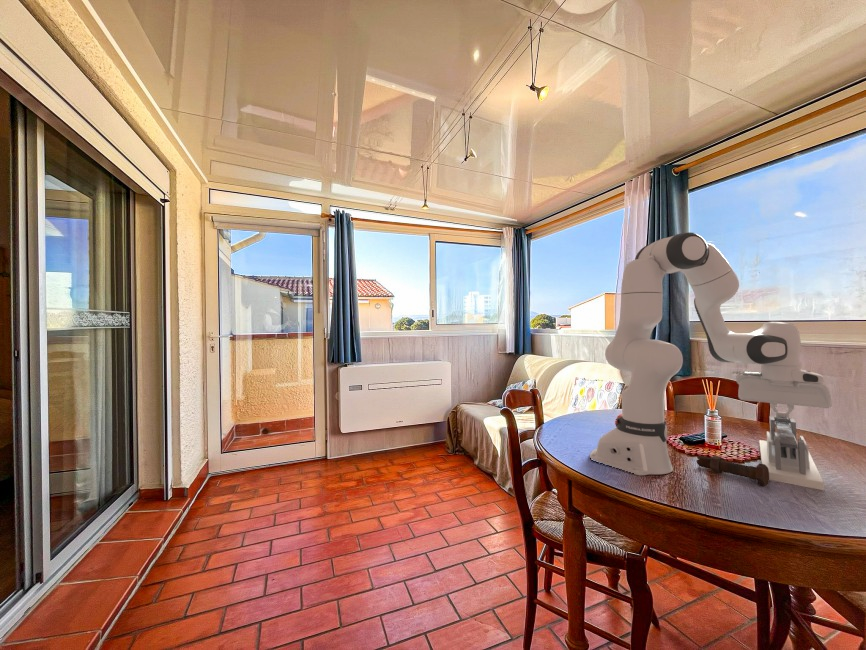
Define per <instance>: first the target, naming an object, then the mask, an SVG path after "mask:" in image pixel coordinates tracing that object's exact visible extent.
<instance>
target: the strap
mask: <svg viewBox="0 0 866 650" xmlns="http://www.w3.org/2000/svg"><path fill="white" fill-rule="evenodd" d="M775 429H776V432H777V431H778V435H779V438H780V442H781V446H782V447H788V448H795V449H798V448H797V443H798V442H797V443H796V440H795V438H794V435H793V433H792V430H791V428H790V423H784V422H775Z"/></svg>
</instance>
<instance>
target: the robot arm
mask: <svg viewBox="0 0 866 650" xmlns="http://www.w3.org/2000/svg"><path fill="white" fill-rule="evenodd" d="M678 272H680V273H682V274H683V275H684V276H685V278H686V280H687V282H688V285H689V286H690V287H691V289H692V291H693V295H694V299H693V306H694V309H695V312H696V314H697V316H698V319H699V322H700V324H701V326H702V329H703V331H704V333H705V337H706V339H707V344H708V345H707V347H708V350H709V352H710V355H711V356H712V357H713V358H714V359H715V360H717V361H719V362H721V363H739V364H749V365H750V364H751V365H760V369H761V371H760V372H751V371H749V372H748V371H742V372H741V373H738V374H737V375H736V380H735V381H736V384H737V385H738V391H737V392H738V394H737V396H738V399H739V400H741V401H745V402H746V401H747V402H757V403H758V402H759V403H766V404H767V403H768V404H769V406H770V408H771V409H772V410H773V412H774V414H775V415H774V416H775V417H776V418H783V419H789V418H790V414H791V413H792V412H793V411H794V410H795V406H798V407H809V408H811V407H812V408H820V409H829V408H830V407H832V404H833V400H832V396H831V393H830V392H831V391H830V389H829V387H828V386H827V385H826V384H824V382H825V376H823V375H822V374H820V373H817V372H813V371H810V370H805V369H803V368H802V363H801V360H800V355H801V352H802V342H801V341H802V340H801V335H800V331H799V329H798V327H797V325H795V324H794V323H790V322H783V321H767V322H764V323H763V324H762V326H760V327H759V328H757V329H756V330H754V331H750V332H734V331H731V330H730V329H729V328H728V327H727V324H726V322H725V320H724V317H723V314H722V312H721V306H722V305H723V304H724V303H726V302H728V301H729V300H731V299H733V297H734V296H735V295H736V294H737V292H738V291H739V288H740V282H739V278H738V276H737V273H736V272H735V271H734V269H733V268H732V266H731V265H730V263H729V261H728V260H727V258H726V257H725V256H724V254H723V253H722V252H721V251H720V250H719V248H717V247H716V246H715V245H714V244H712V243H709V242H707V240H705V239H704V238H703V237H702V236H701V235H700V234H698V233H695V232H688V231H687V232H681V233H677V234H675V235H672V236H668V237H664V238H661V239H658V240H656V241H654V242H652V243H649V244H645V246H644V247H642V248H641V249H639V251H638V252H636V255H635V258H634V259H633V260H631V261H629V262H628V263H627V264H626V265H625V267H624V270H623V275H622V279H621V280H622V281H621V288H620V289H621V290H620V313H619V314H620V315H619V316H620V317H619V322H618V326H617V329H616V332H615V335H614V337H613V339H612V340H611V342H610V343H609V344H608V345H607V346H606V349H605V353H604V354H605V359H606V361H607V363H608V364H609V365H610V366H612V367H613V368H615V369H616V370H619V371H621V372H625V373H631V375H630V376H631V377H630V381H629V384H628V386H627V387H626V388H625V389H624V390H623V391H622V392H621V409H622V410H621V411H622V413H621V414H619V415H617V416H616V419H615V420H614V425H615V428H613V429H611V430H610V431H608V432H607V433H605V434H603V435H602V436H600V438H599V439H598V442H597V447H596V448H594V449H593V450H592V451H590V453H589V459H590V458H591V459H593V460H595V461H598V462H601V463H604V464H607V465H610V466H612V467H611V468H613V467H616V468H619V469H622V470H625V471H624V472H626V471H628V472H627V473H629V472H631V473H630V474H632V473H634V474H633V475H636V476H647V475H665V474H666V475H667V474H669V473H671V472H673V471H674V467H673V465H672V462H671V459H670V455H669V449H668V445H667V440H668V426H667V421H666V420H665V392H666V390H667V386H668V384H669V381H670V380H671V378H672V377H674V376H675V375H676V374H678V373H679V372H680V370H681V369H682V367H683V364H684V362H683V361H684V359H683V354H682V351H681V350H680V349H679V347H678V346H676V345H675V344H673V343H670V342H666V341H663V340H659V339H651V335H652V332H653V330H654V328H655V327H656V326H657V325H658V324H659V323H660V322H661V321H662V319H663V299H664V292H663V289H664V288H663V287H664V286H663V280H664V278H665V275H667V274H674V273H678ZM777 404H779V405H780V404H781V405H786V408H787V410H786V411H778V409H777V408H776V407H777V406H778V405H777ZM616 468H615V469H616ZM619 469H618V470H619ZM622 470H621V471H622Z"/></svg>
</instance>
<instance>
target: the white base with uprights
mask: <svg viewBox="0 0 866 650" xmlns="http://www.w3.org/2000/svg"><path fill="white" fill-rule="evenodd" d="M776 422H782V423H789V425H790V428H791V430H792V433H793V435H794V438H795V440H796V443H797V448H798V449H795V448H788V447H782V446H781V442H780V438H779V435H778V431H777V430H776ZM797 437H798V436H797V422H796V420H795V418H794V417H793V418H792V417H791V418H790V417H789V419H783V418H776V417H775V415H769V431H766V440H763V439H762V440H761V439H759V441H758V442H759V453H760V460H761V461H760V462H761V464H765V465H766V466H767V467H768V470H769V481H773V482H779V483H784V484H789V485H794V486H800V487H804V488H808V489H809V488H810V489H814V490H820V491H825V485H824V484H825V483H824V480H823V478H822V476H821V474H820V472H819V470H818V467H817V465H816V464H815V461H814V459H813V457H812V455H811V453H810V450H809V446H808V444H807V442H806V440H805V438H804V435H799V438H798V439H797Z"/></svg>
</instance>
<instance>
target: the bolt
mask: <svg viewBox="0 0 866 650" xmlns="http://www.w3.org/2000/svg"><path fill="white" fill-rule="evenodd" d="M696 463H697V465H698V466H699V467H700V468H705V469H709V470H711V472H712V473H714V474H718V475H719V474H723V473H726V474H730V475H734V476H738V477H743V478H747V479H750V480H753V481H756V483H757V485H758V486H761V487H767V486H768V485H769V481H770V480H769V470H768V467H767V466H766V465H765V464H762V463H758V464H757V465H756V466H752V465H746V464H741V463H736V462H732V461H726V460H723V458H722V457H721V456H719V455H713V456H711V457H708V456H705V455H704V456H703V455H700V456H697V458H696Z"/></svg>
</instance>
